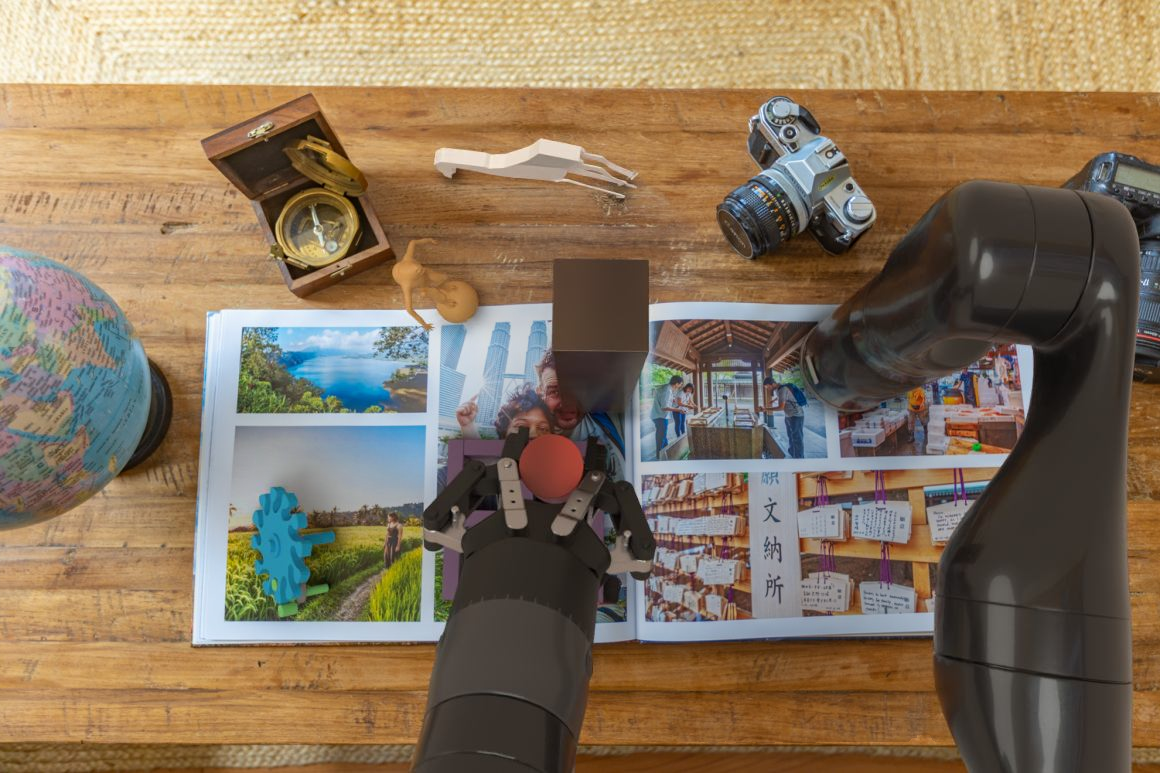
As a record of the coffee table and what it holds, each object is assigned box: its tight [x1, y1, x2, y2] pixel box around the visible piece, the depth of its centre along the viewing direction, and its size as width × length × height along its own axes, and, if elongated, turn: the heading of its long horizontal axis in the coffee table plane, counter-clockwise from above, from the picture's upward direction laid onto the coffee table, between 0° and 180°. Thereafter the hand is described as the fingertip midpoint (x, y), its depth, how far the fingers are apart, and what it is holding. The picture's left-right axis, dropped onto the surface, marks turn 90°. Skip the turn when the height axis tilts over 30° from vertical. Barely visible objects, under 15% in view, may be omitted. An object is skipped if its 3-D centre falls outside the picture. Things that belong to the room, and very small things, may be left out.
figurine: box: [391, 237, 480, 332], centre depth 70 cm, size 8×6×12 cm
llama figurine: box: [433, 138, 639, 199], centre depth 75 cm, size 2×11×18 cm
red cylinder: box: [519, 433, 584, 504], centre depth 53 cm, size 4×4×8 cm
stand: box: [551, 257, 650, 414], centre depth 62 cm, size 6×6×26 cm
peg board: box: [441, 438, 606, 603], centre depth 70 cm, size 14×14×4 cm
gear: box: [250, 485, 336, 618], centre depth 69 cm, size 11×6×10 cm
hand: (558, 442), depth 53 cm, fingers closed on red cylinder, 4 cm apart
